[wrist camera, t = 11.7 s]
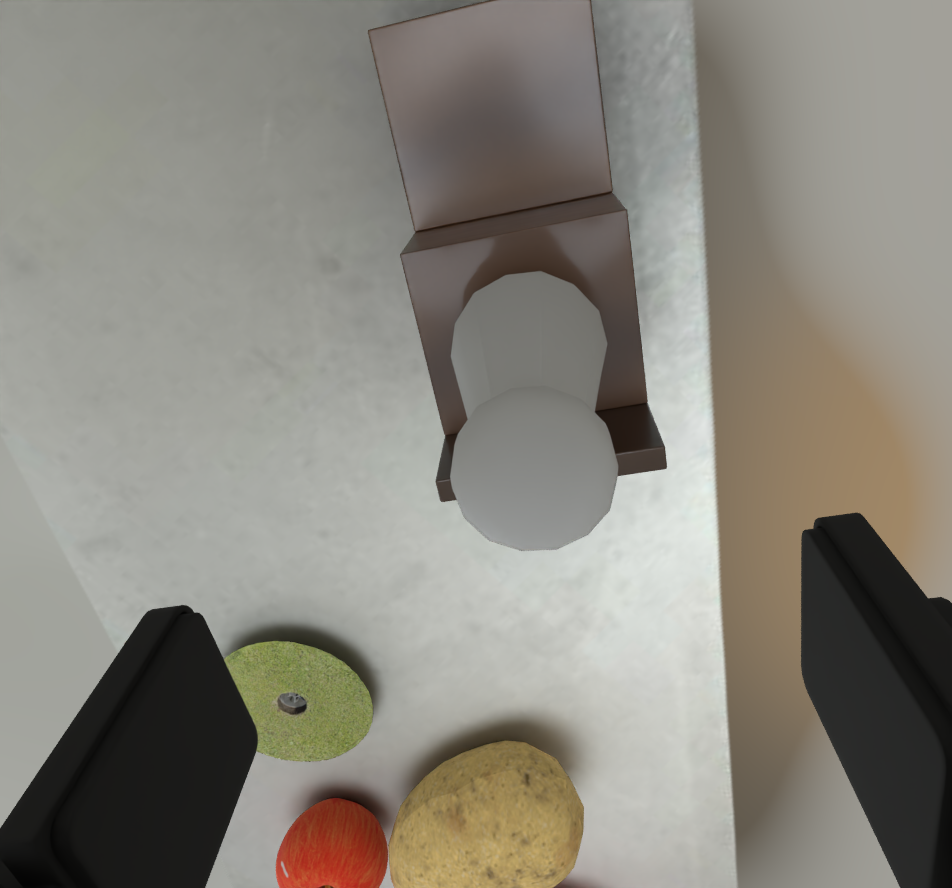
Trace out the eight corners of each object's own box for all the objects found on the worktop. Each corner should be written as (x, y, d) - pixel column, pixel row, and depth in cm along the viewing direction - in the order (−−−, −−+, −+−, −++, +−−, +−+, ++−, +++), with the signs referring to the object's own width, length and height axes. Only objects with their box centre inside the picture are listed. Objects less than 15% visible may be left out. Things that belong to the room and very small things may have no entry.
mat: (189, 647, 50) (177, 667, 48) (332, 603, 48) (325, 623, 46) (269, 754, 54) (261, 777, 53) (403, 720, 52) (399, 742, 50)
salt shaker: (436, 283, 28) (380, 421, 17) (577, 237, 27) (621, 351, 16) (483, 412, 31) (462, 611, 19) (614, 374, 30) (676, 561, 18)
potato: (592, 798, 55) (605, 930, 46) (410, 820, 57) (391, 950, 49) (566, 703, 50) (575, 829, 42) (371, 731, 53) (343, 856, 44)
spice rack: (385, 36, 33) (312, 11, 21) (579, -11, 31) (614, -65, 20) (463, 380, 40) (440, 503, 28) (623, 353, 39) (667, 469, 27)
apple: (274, 817, 58) (239, 921, 51) (326, 764, 55) (297, 867, 47) (357, 859, 60) (335, 965, 52) (412, 811, 56) (397, 916, 49)
